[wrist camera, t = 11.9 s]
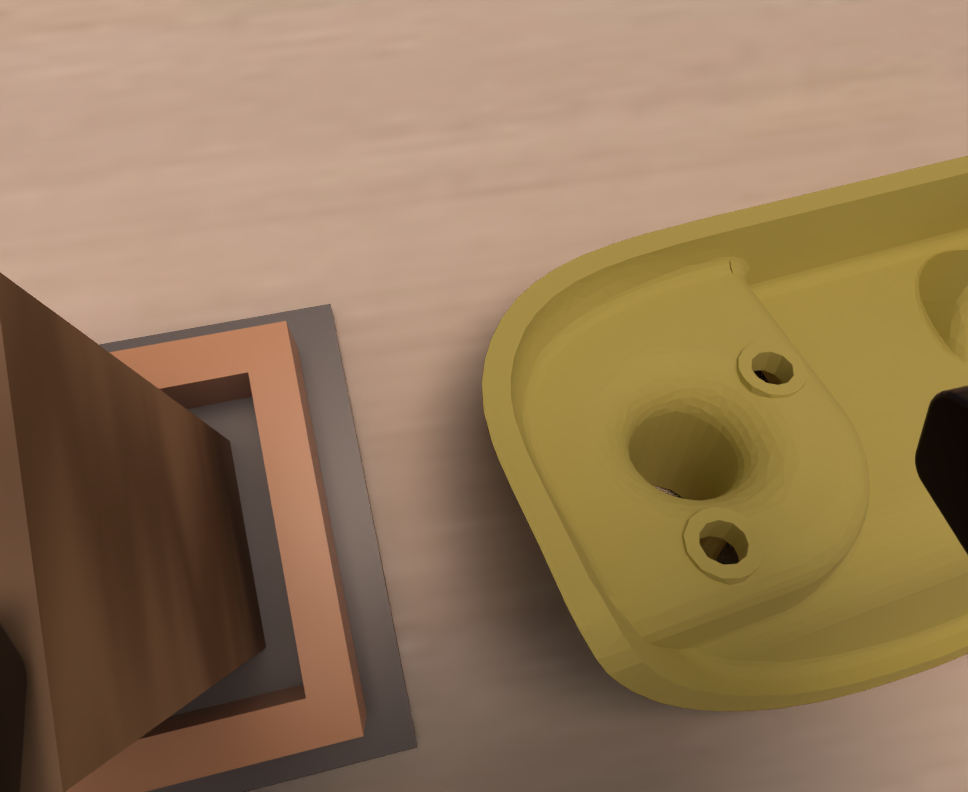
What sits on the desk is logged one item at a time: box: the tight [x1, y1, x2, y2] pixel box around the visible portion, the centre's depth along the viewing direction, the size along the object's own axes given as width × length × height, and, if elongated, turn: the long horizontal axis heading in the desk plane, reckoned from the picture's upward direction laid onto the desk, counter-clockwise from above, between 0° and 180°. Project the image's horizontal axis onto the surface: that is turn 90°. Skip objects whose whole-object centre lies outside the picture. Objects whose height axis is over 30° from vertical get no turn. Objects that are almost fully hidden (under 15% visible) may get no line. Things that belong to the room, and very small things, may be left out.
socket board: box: [65, 304, 417, 792], centre depth 19 cm, size 11×11×3 cm
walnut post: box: [0, 273, 266, 792], centre depth 14 cm, size 5×5×12 cm
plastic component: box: [482, 156, 968, 711], centre depth 21 cm, size 20×7×10 cm
